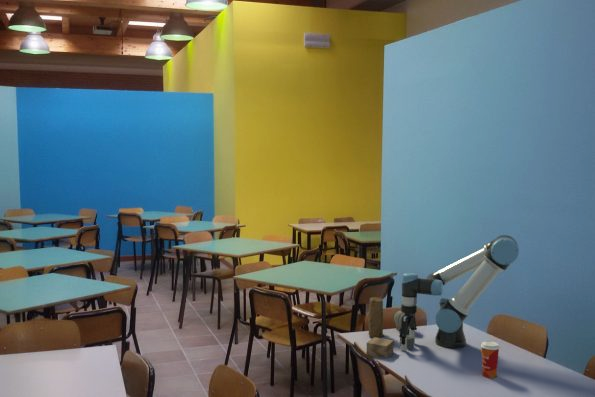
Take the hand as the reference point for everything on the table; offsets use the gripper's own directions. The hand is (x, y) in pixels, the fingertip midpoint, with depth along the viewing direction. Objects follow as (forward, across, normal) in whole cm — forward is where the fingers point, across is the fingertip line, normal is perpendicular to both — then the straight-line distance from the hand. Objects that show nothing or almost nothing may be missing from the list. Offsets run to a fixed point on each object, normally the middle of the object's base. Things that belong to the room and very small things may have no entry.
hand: (407, 346), depth 280 cm
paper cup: (0, +20, +42) cm, 47 cm away
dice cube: (0, 0, 0) cm, 1 cm away
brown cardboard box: (0, +16, -9) cm, 18 cm away
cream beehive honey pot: (0, -25, -10) cm, 27 cm away
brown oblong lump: (0, -10, -21) cm, 23 cm away
